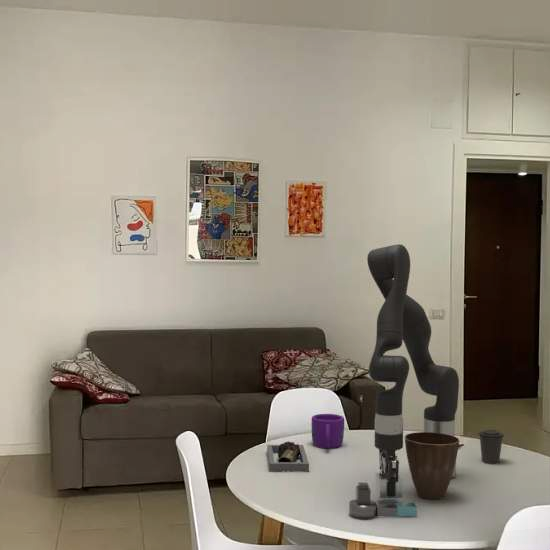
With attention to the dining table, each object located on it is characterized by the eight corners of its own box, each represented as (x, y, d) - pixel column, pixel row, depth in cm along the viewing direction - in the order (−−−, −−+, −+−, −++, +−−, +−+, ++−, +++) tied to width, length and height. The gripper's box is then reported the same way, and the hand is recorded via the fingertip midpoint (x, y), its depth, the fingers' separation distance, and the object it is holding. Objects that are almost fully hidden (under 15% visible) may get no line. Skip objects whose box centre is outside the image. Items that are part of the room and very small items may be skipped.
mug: (311, 440, 272) (312, 413, 272) (343, 441, 272) (344, 413, 271) (310, 453, 255) (310, 423, 255) (344, 454, 254) (344, 424, 254)
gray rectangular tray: (302, 452, 257) (303, 444, 256) (308, 471, 234) (308, 463, 233) (267, 452, 256) (267, 444, 256) (269, 471, 233) (269, 463, 233)
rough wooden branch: (292, 471, 235) (292, 453, 235) (271, 470, 236) (271, 452, 236) (301, 456, 252) (301, 439, 252) (281, 455, 253) (281, 438, 253)
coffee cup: (500, 459, 251) (501, 428, 251) (505, 465, 243) (506, 434, 243) (475, 458, 252) (476, 427, 252) (479, 464, 244) (480, 433, 244)
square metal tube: (397, 490, 208) (397, 472, 208) (402, 497, 202) (402, 479, 202) (375, 491, 207) (375, 472, 207) (379, 498, 201) (379, 479, 201)
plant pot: (400, 486, 220) (401, 431, 220) (452, 487, 220) (453, 432, 219) (407, 503, 205) (408, 444, 205) (463, 504, 205) (464, 445, 204)
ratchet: (412, 510, 200) (412, 479, 199) (418, 519, 193) (418, 488, 192) (347, 510, 199) (347, 479, 199) (351, 519, 192) (351, 488, 192)
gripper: (409, 436, 197) (408, 500, 198) (396, 423, 211) (396, 483, 212) (380, 436, 197) (379, 501, 197) (369, 424, 211) (369, 484, 212)
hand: (388, 492), depth 205 cm, fingers closed on square metal tube, 6 cm apart
